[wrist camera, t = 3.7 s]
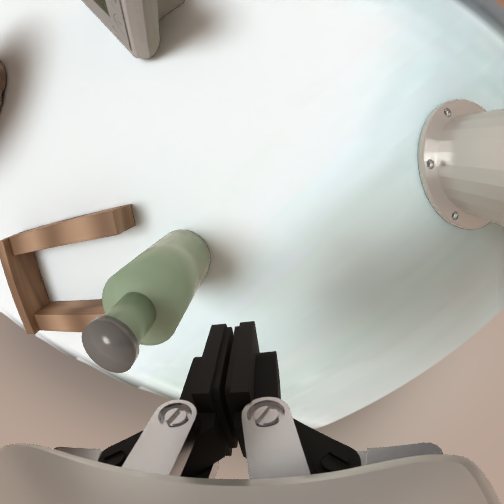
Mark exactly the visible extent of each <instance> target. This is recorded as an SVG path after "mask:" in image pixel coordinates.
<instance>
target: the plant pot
mask: <svg viewBox="0 0 504 504" xmlns="http://www.w3.org/2000/svg"><path fill="white" fill-rule="evenodd" d="M5 87H6V71H5V67H4V65H3V63H2V62H1V61H0V109H1V106H2V98H1V96H2V92H3V90H4V89H5Z"/></svg>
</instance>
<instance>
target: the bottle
mask: <svg viewBox="0 0 504 504" xmlns="http://www.w3.org/2000/svg"><path fill="white" fill-rule="evenodd" d="M210 260H211V257H210V252H209V249H208V246H207V245H206V243H205V242H204V240H203V239H202V238H201V237H200V236H198V235H197V234H195V233H193V232H191V231H188V230H175V231H172V232H170V233H168V234H167V235H165V236H164V237H163V238H161V239H160V240H159V241H157V242H156V243H154V244H153V245H152V246H150V247H149V248H148V249H147V250H145V251H144V252H143V253H141V254H140V255H139V256H137V257H136V258H135V259H133V260H132V261H131V262H130V263H128V264H127V265H126V266H124V267H123V268H122V269H121V270H119V271H118V272H117V273H116V274H114V275H113V276H112V277H111V278H110V279H109V280H108V281H107V283H106V284H105V287H104V289H103V295H102V302H103V308H104V311H105V315H101V316H97V317H96V318H94V319H93V320H92V321H91V322H90V323H89V324H88V325H87V326H86V327H85V328H84V330H83V332H82V342H83V346H84V348H85V350H86V352H87V354H88V355H89V356H90V358H91V359H92V360H93V361H94V362H95V363H96V364H98V365H99V366H100V367H102V368H104V369H106V370H108V371H110V372H115V373H123V372H126V371H128V370H129V369H130V368H131V366H132V365H133V363H134V362H135V360H136V358H137V357H138V354H139V345H140V344H142V345H157V344H161V343H163V342H165V341H167V340H168V339H169V338H170V337H171V336H172V335H173V333H174V332H175V330H176V328H177V326H178V324H179V322H180V321H181V319H182V317H183V315H184V313H185V311H186V309H187V308H188V306H189V304H190V302H191V300H192V298H193V297H194V295H195V293H196V291H197V289H198V287H199V286H200V284H201V282H202V280H203V278H204V276H205V275H206V273H207V271H208V269H209V266H210Z"/></svg>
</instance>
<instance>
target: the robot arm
mask: <svg viewBox="0 0 504 504" xmlns="http://www.w3.org/2000/svg"><path fill="white" fill-rule="evenodd" d="M418 163H419V171H420V177H421V181H422V184H423V187H424V190H425V193H426V195H427V197H428V199H429V201H430V203H431V205H432V206H433V207H434V209H435V210H436V212H437V213H438V214H439V215H440V216H441V217H442V218H443V219H444V220H446V221H447V222H449V223H451V224H452V225H455V226H457V227H460V228H463V229H478V228H480V227H483V226H485V225H487V224H488V223H489V222H493V223H496V224H499V225H501V226H504V109H501V110H493V111H486V110H485V109H483V108H482V107H481V106H479V105H477V104H476V103H474V102H471V101H468V100H457V99H456V100H452V101H448V102H445V103H443V104H441V105H439V106H438V107H437V108H435V109H434V110H433V111H432V112H431V114H430V115H429V116H428V118H427V119H426V122H425V124H424V126H423V128H422V132H421V136H420V140H419V149H418ZM426 163H427V164H426ZM238 442H239V444H240V447H241V451H242V454H243V456H244V457H246V459H247V463H248V470H249V477H250V479H215V476H216V474H217V470H218V468H219V460H220V459H222V458H223V457H225V456H231V453H232V448H236V447H237V444H238ZM0 504H501V502H500V500H499V498H498V496H497V494H496V492H495V490H494V489H493V487H492V485H491V483H490V481H489V480H488V479H487V477H486V476H485V474H484V473H483V472H482V470H481V469H480V468H479V467H478V466H477V465H476V464H475V463H474V462H473V461H471V460H469V459H468V458H465V457H461V456H457V455H448V454H443V452H442V450H441V449H440V448H439V447H438V446H437V445H435V444H432V443H418V444H410V445H402V446H392V447H379V448H367V451H355V450H354V449H352V448H350V447H349V446H347V445H344V444H342V443H340V442H338V441H336V440H334V439H332V438H330V437H328V436H326V435H324V434H322V433H320V432H318V431H316V430H314V429H312V428H310V427H308V426H306V425H304V424H303V423H301V422H299V421H297V420H295V419H293V417H292V414H291V411H290V408H289V406H288V404H287V403H286V402H284V401H283V400H281V393H280V379H279V369H278V361H277V353H276V351H274V352H264V353H260V352H259V346H258V340H257V334H256V327H255V322H254V321H252V322H241V323H240V326H237V327H235V330H234V335H233V330H232V327H227V325H226V324H219V325H212V326H211V329H210V332H209V336H208V339H207V342H206V345H205V349H204V352H203V355H202V357H195V358H194V359H193V361H192V364H191V367H190V370H189V373H188V376H187V379H186V382H185V385H184V388H183V391H182V394H181V397H180V400H172V401H169V402H166V403H164V404H163V405H161V406H160V407H159V408H158V409H157V410H156V411H155V413H154V414H153V416H152V418H151V419H150V421H149V423H148V424H147V426H146V428H145V429H144V430H143V431H141V432H139V433H137V434H135V435H133V436H131V437H129V438H127V439H125V440H123V441H121V442H119V443H117V444H115V445H113V446H110V447H108V448H107V449H105V450H104V451H103V452H102V451H101V450H100V449H84V448H68V447H57V448H54V449H52V448H49V447H44V446H40V445H33V444H10V445H6V446H4V447H2V448H1V449H0Z"/></svg>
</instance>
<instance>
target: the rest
mask: <svg viewBox="0 0 504 504" xmlns="http://www.w3.org/2000/svg"><path fill="white" fill-rule="evenodd" d="M134 226H135V222H134V217H133V212H132V207H131V204H129V205H125V206H120V207H115V208H111V209H107V210H102V211H98V212H94V213H90V214H86V215H82V216H78V217H74V218H70V219H66V220H62V221H58V222H55V223H51V224H47V225H44V226H40V227H37V228H33V229H30V230H27V231H23V232H20V233H18V234H15V235H13V236H10V237H8V238H5V239H3V240H1V241H0V259H1V263H2V266H3V270H4V273H5V276H6V279H7V282H8V285H9V288H10V291H11V294H12V297H13V299H14V302H15V305H16V307H17V310H18V312H19V315H20V317H21V320H22V322H23V324H24V327H25V329H26V331H27V333H28V334H36V333H37V332H38V331H39V330H45V331H64V332H83V330H84V328H85V327H86V326H87V325H88V324H89V323H90V322H91V321H92V320H93V319H94V318H96V317H97V316H101V315H105V311H104V308H103V302H102V299H100V300H81V301H58V302H50V301H49V298H48V296H47V293H46V290H45V287H44V284H43V281H42V278H41V275H40V271H39V268H38V265H37V261H36V258H35V254H34V251H37V250H42V249H47V248H52V247H56V246H61V245H66V244H72V243H77V242H82V241H87V240H92V239H98V238H103V237H109V236H114V235H118V234H120V233H122V232H124V231H126V230H128V229H130V228H132V227H134Z"/></svg>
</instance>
